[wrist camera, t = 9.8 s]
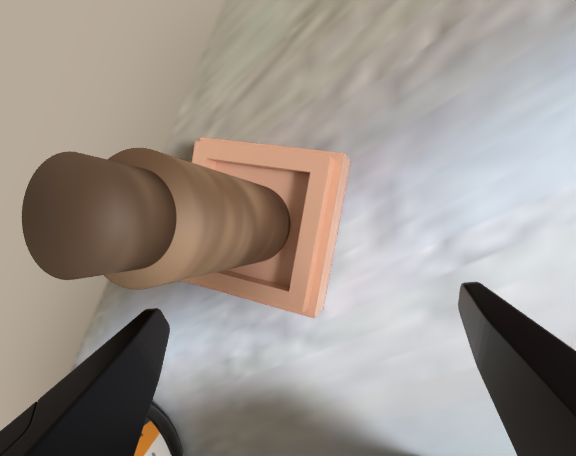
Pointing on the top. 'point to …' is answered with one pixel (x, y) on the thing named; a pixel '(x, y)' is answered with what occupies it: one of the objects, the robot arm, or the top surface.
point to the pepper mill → (147, 219)
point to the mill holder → (303, 221)
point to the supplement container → (158, 437)
